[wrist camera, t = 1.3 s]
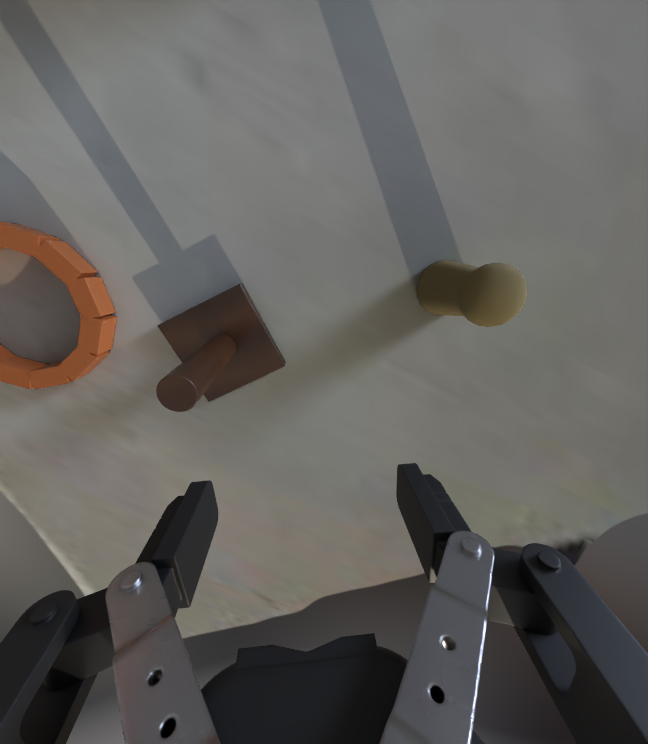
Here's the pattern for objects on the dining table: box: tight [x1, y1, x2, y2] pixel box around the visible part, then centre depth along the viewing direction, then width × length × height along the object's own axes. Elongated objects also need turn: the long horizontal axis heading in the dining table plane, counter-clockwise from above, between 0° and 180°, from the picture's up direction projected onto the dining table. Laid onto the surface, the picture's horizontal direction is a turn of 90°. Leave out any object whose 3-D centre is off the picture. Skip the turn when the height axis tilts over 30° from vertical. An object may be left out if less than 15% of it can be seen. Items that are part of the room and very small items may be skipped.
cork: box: [417, 260, 527, 327], centre depth 29 cm, size 6×6×11 cm
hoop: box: [0, 221, 117, 389], centre depth 31 cm, size 16×16×3 cm
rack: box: [156, 283, 285, 412], centre depth 28 cm, size 10×10×14 cm
